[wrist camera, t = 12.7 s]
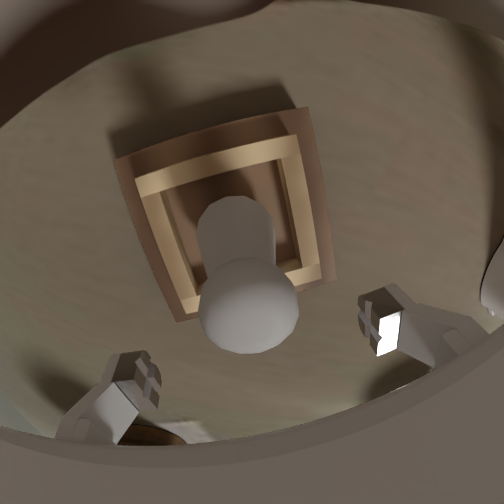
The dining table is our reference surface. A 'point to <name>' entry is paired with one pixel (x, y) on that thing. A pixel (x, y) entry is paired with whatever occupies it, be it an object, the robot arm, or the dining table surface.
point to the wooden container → (148, 437)
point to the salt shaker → (243, 278)
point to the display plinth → (230, 184)
